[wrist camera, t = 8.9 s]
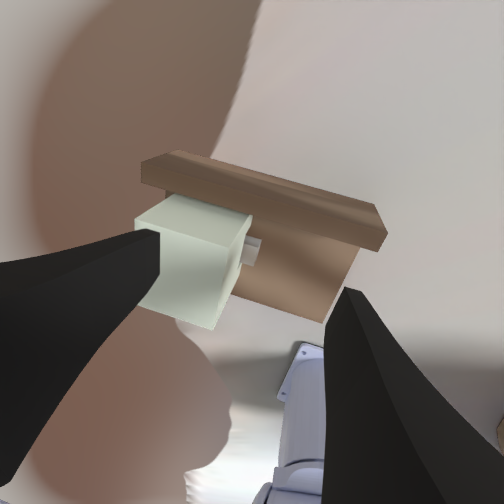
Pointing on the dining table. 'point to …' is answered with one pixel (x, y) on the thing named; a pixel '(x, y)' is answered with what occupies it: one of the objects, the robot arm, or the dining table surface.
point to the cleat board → (278, 229)
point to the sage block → (194, 257)
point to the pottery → (501, 436)
